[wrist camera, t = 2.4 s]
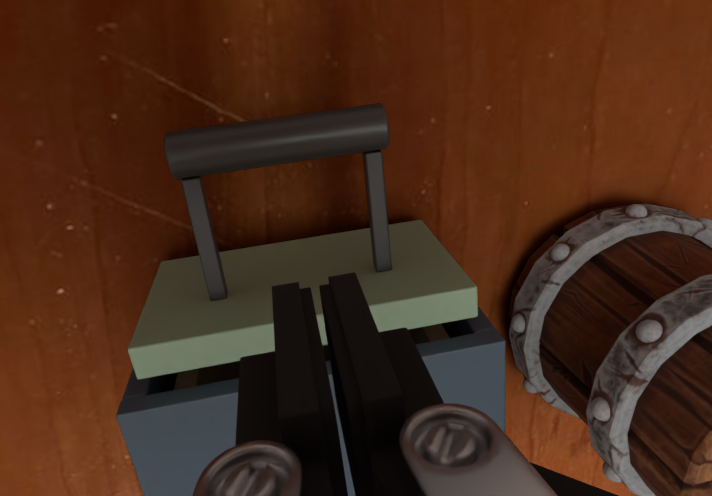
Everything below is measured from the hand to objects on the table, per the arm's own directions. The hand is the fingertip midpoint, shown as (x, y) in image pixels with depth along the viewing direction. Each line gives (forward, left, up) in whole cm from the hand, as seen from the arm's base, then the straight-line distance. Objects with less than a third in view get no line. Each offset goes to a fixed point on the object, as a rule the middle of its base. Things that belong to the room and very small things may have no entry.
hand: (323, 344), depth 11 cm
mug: (+9, +17, -14) cm, 24 cm away
